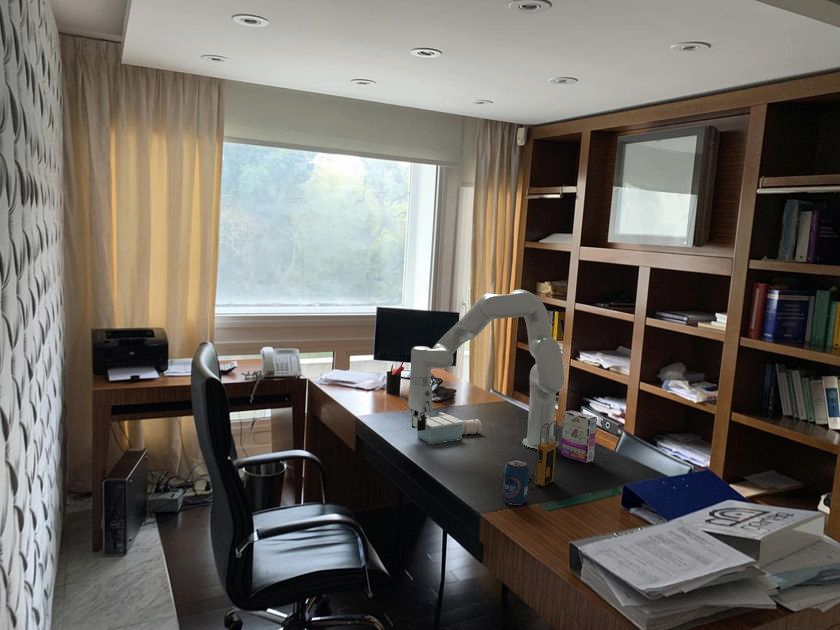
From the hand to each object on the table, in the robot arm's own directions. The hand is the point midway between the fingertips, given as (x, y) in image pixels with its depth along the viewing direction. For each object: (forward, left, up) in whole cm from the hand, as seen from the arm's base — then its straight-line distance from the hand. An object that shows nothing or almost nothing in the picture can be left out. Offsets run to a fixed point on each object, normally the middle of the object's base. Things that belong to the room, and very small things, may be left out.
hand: (418, 428), depth 232 cm
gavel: (+13, -26, -6) cm, 30 cm away
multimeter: (-47, -14, -5) cm, 50 cm away
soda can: (-57, +3, -5) cm, 58 cm away
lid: (0, -8, +1) cm, 8 cm away
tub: (0, -10, -5) cm, 11 cm away
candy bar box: (-39, -42, -5) cm, 58 cm away
